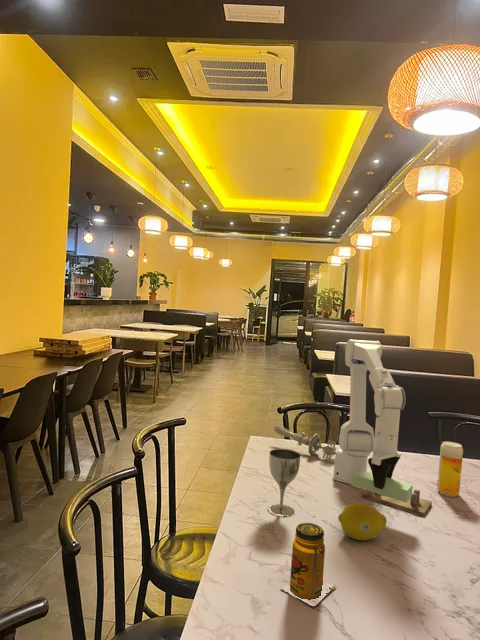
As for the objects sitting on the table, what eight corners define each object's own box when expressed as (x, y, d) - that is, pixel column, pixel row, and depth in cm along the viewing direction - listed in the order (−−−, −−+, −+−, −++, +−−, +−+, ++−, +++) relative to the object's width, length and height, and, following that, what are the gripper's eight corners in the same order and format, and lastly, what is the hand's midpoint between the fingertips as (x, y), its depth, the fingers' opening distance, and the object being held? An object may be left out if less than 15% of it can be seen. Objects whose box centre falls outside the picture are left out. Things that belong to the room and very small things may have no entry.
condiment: (280, 590, 84) (284, 527, 83) (304, 571, 90) (308, 513, 89) (313, 609, 79) (318, 543, 78) (336, 587, 85) (341, 526, 85)
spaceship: (282, 420, 175) (272, 416, 168) (366, 452, 153) (359, 449, 147) (274, 439, 173) (265, 436, 167) (359, 474, 152) (351, 472, 146)
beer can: (461, 498, 130) (466, 448, 130) (439, 495, 131) (443, 446, 131) (455, 490, 136) (460, 442, 136) (434, 487, 137) (439, 439, 137)
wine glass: (300, 508, 117) (304, 452, 117) (290, 520, 110) (295, 461, 110) (272, 500, 121) (275, 446, 120) (261, 512, 114) (265, 454, 113)
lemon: (335, 541, 102) (337, 507, 102) (338, 525, 110) (341, 493, 109) (384, 552, 99) (387, 517, 98) (384, 535, 106) (387, 502, 106)
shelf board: (352, 485, 117) (352, 474, 117) (358, 480, 121) (359, 469, 121) (406, 502, 109) (407, 490, 109) (411, 496, 113) (412, 484, 113)
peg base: (361, 496, 127) (362, 482, 127) (371, 487, 135) (373, 474, 134) (423, 516, 117) (425, 501, 117) (431, 505, 125) (432, 491, 125)
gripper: (393, 443, 106) (389, 498, 107) (409, 430, 118) (405, 480, 119) (365, 436, 111) (360, 489, 111) (383, 425, 122) (379, 473, 123)
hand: (382, 484), depth 115 cm, fingers closed on shelf board, 5 cm apart
